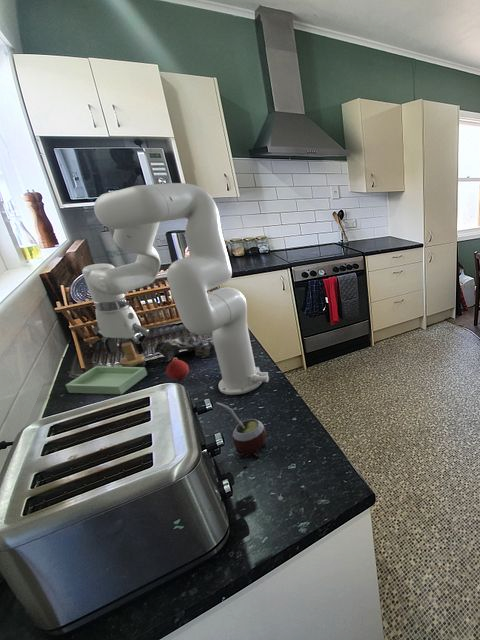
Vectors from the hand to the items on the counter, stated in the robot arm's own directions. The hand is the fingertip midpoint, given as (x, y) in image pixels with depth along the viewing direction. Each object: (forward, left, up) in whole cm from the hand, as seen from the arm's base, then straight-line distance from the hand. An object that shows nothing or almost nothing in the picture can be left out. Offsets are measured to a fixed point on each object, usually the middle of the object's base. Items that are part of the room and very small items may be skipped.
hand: (128, 351), depth 115 cm
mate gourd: (-56, +36, -6) cm, 67 cm away
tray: (0, +10, -6) cm, 12 cm away
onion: (-20, +7, -6) cm, 22 cm away
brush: (0, 0, -6) cm, 6 cm away
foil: (-14, -8, -6) cm, 17 cm away
